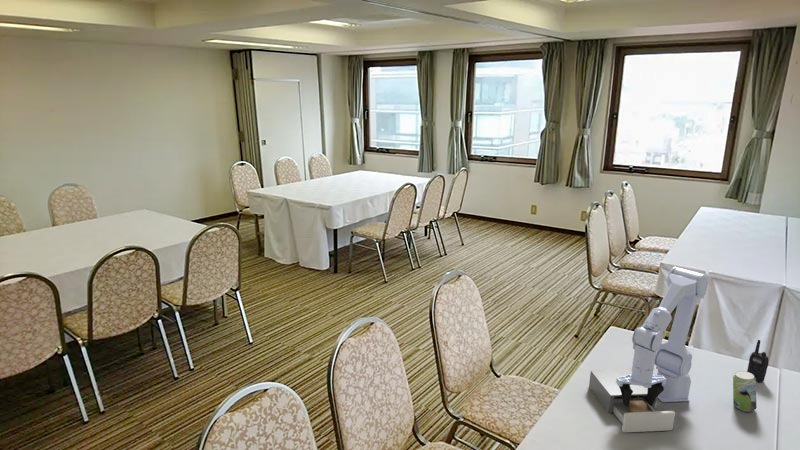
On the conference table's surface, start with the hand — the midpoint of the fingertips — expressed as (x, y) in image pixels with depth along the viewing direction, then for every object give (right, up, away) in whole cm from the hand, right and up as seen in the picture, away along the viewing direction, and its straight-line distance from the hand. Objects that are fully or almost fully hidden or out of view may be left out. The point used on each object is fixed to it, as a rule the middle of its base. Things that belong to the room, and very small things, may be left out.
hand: (637, 404), depth 148 cm
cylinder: (0, -3, +1) cm, 4 cm away
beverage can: (+36, -3, +6) cm, 37 cm away
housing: (-1, -2, +10) cm, 11 cm away
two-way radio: (+52, +1, +21) cm, 56 cm away
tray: (0, -4, +1) cm, 4 cm away
